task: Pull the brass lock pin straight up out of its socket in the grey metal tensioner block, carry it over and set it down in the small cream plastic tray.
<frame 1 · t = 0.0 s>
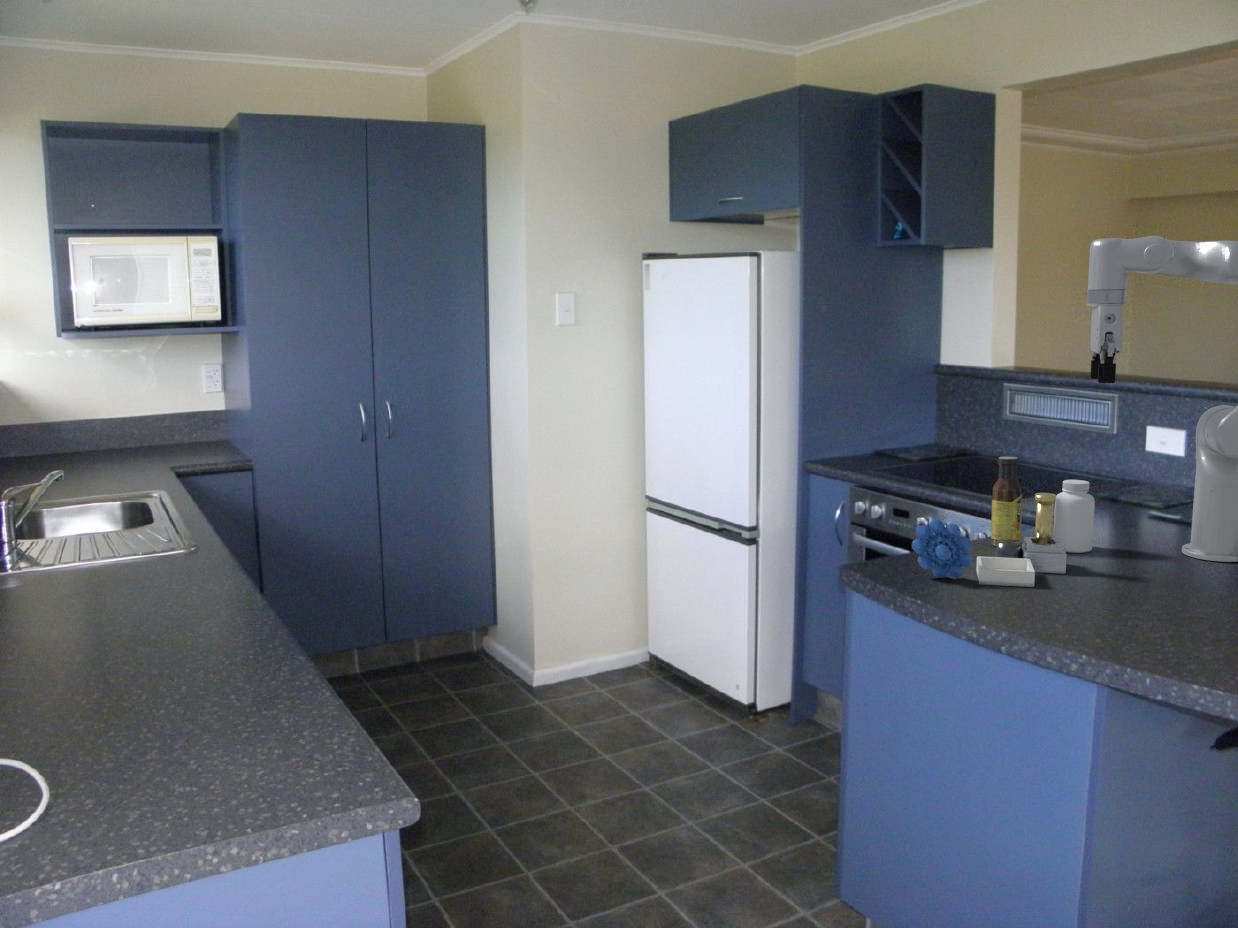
hand: (1102, 380, 222), 37 cm above the worktop, tool pointing down, fingers open, 9 cm apart
pill bottle: (1072, 549, 230), on the worktop
tensioner block: (1041, 567, 216), on the worktop
sauce bottle: (1005, 547, 233), on the worktop
blue flower: (941, 580, 209), on the worktop
pin: (1042, 548, 215), point 4 cm above the worktop, touching tensioner block
tray: (1004, 578, 208), on the worktop
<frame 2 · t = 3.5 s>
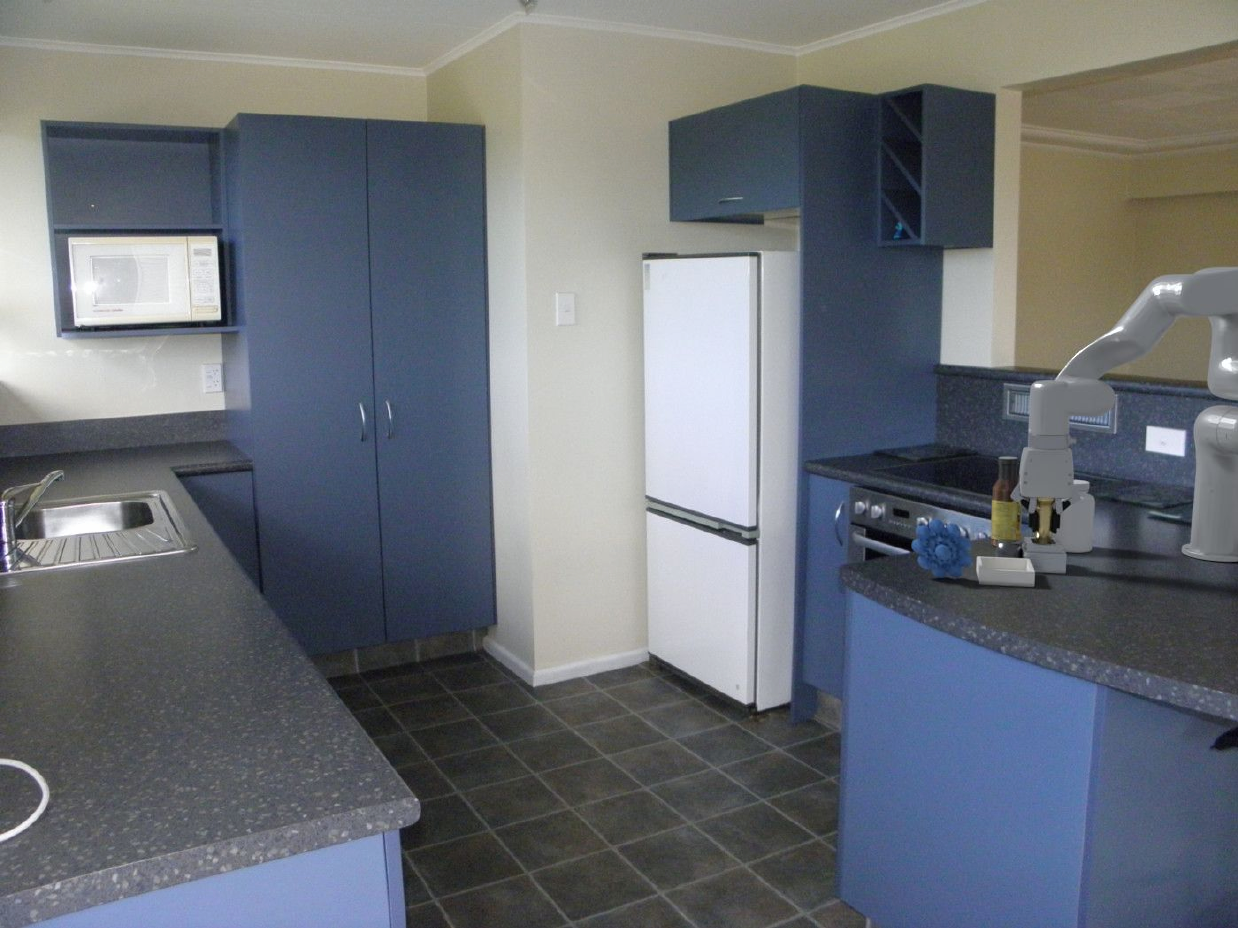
hand: (1043, 530, 214), 8 cm above the worktop, tool pointing down, fingers closed on pin, 3 cm apart
pin: (1042, 548, 215), point 4 cm above the worktop, touching gripper, tensioner block
everything else where it was.
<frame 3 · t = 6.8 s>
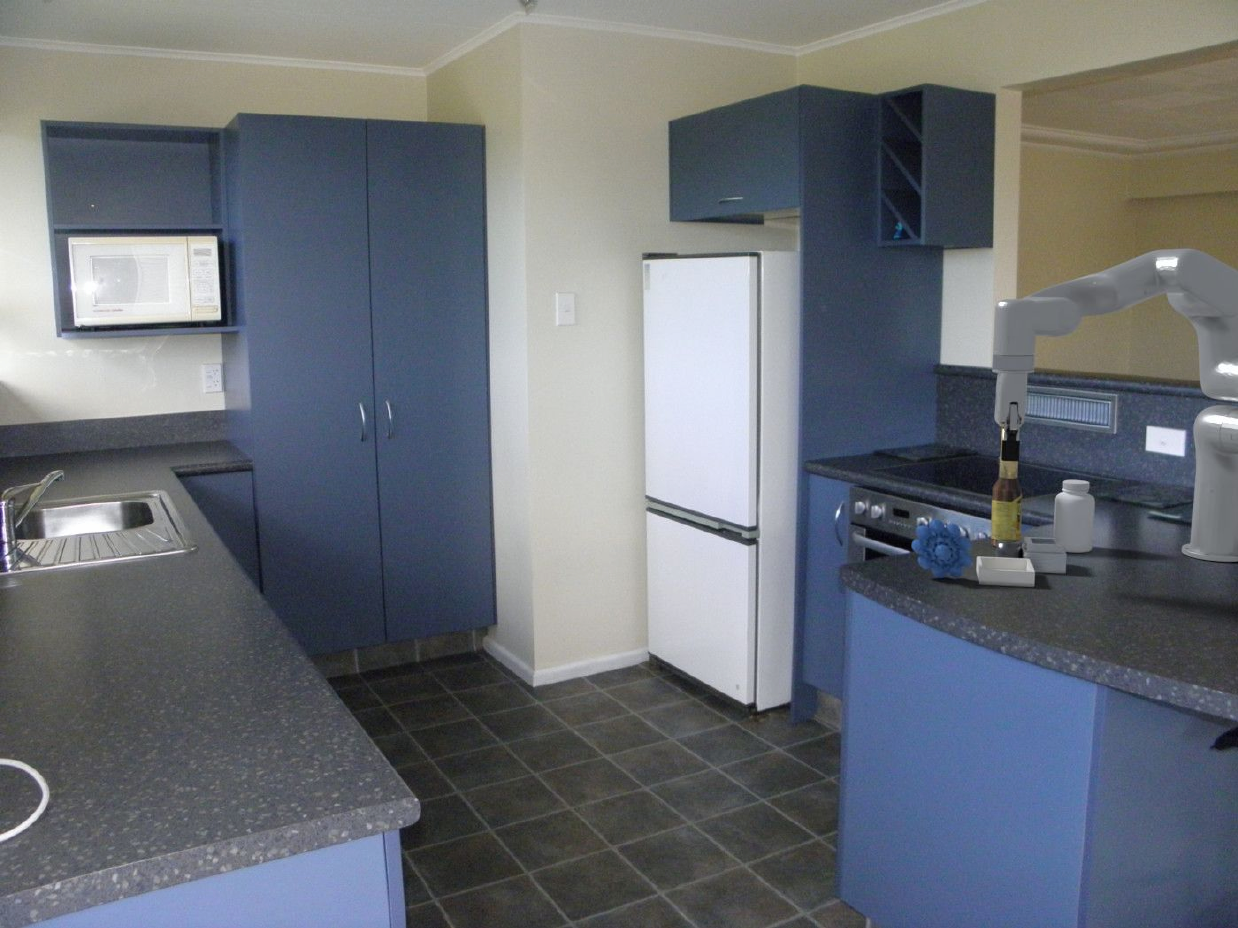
hand: (1009, 458, 204), 24 cm above the worktop, tool pointing down, fingers closed on pin, 3 cm apart
pin: (1008, 477, 205), point 20 cm above the worktop, touching gripper
everything else where it was.
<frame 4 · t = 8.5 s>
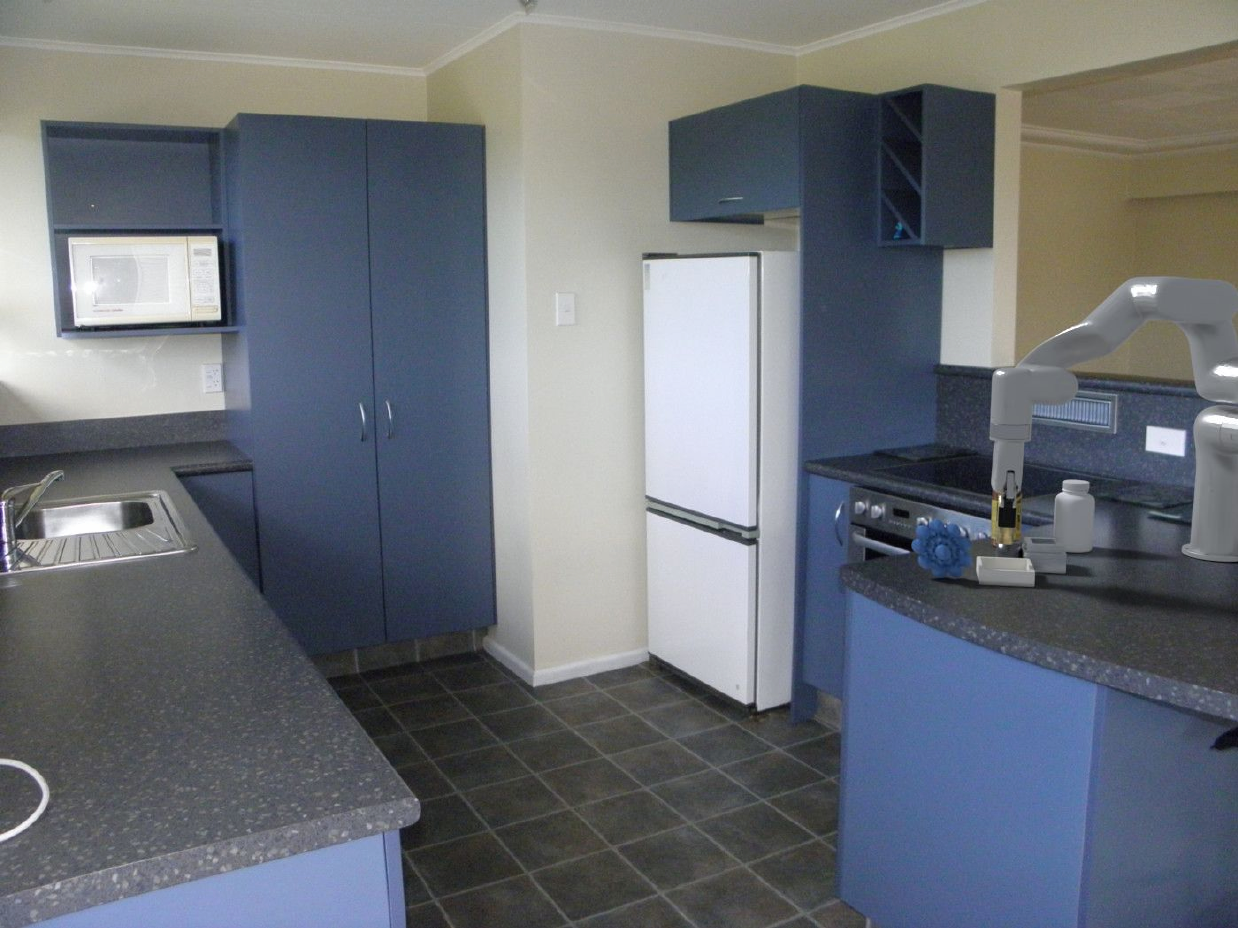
hand: (1005, 524, 207), 11 cm above the worktop, tool pointing down, fingers closed on pin, 3 cm apart
pin: (1004, 542, 207), point 7 cm above the worktop, touching gripper
everything else where it was.
when the fingers open (5 cm above the worktop, at t = 9.8 s): pin stays where it is, resting on tray.
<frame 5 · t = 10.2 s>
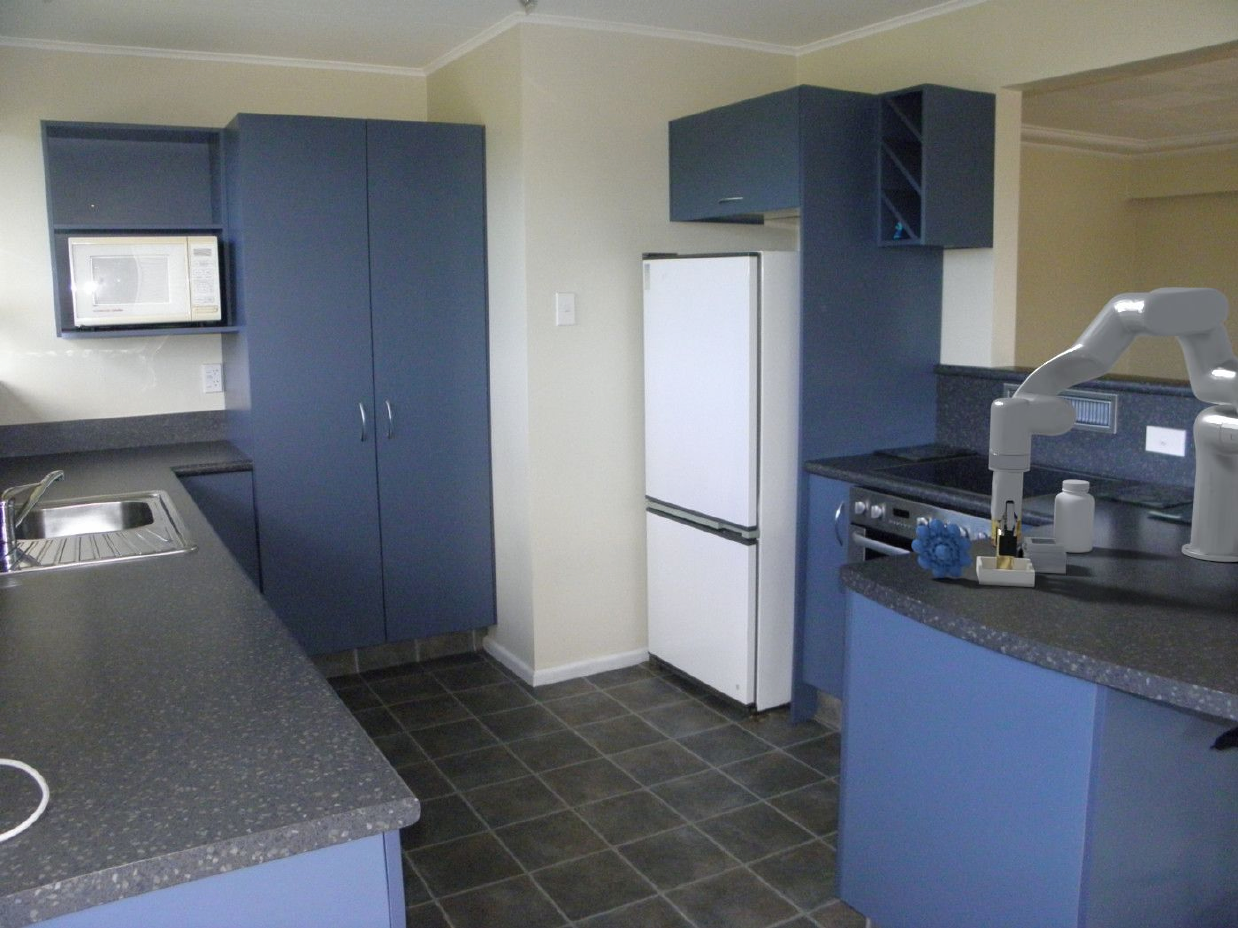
hand: (1005, 549, 207), 6 cm above the worktop, tool pointing down, fingers open, 7 cm apart
pin: (1004, 575, 208), point 1 cm above the worktop, touching tray
everything else where it was.
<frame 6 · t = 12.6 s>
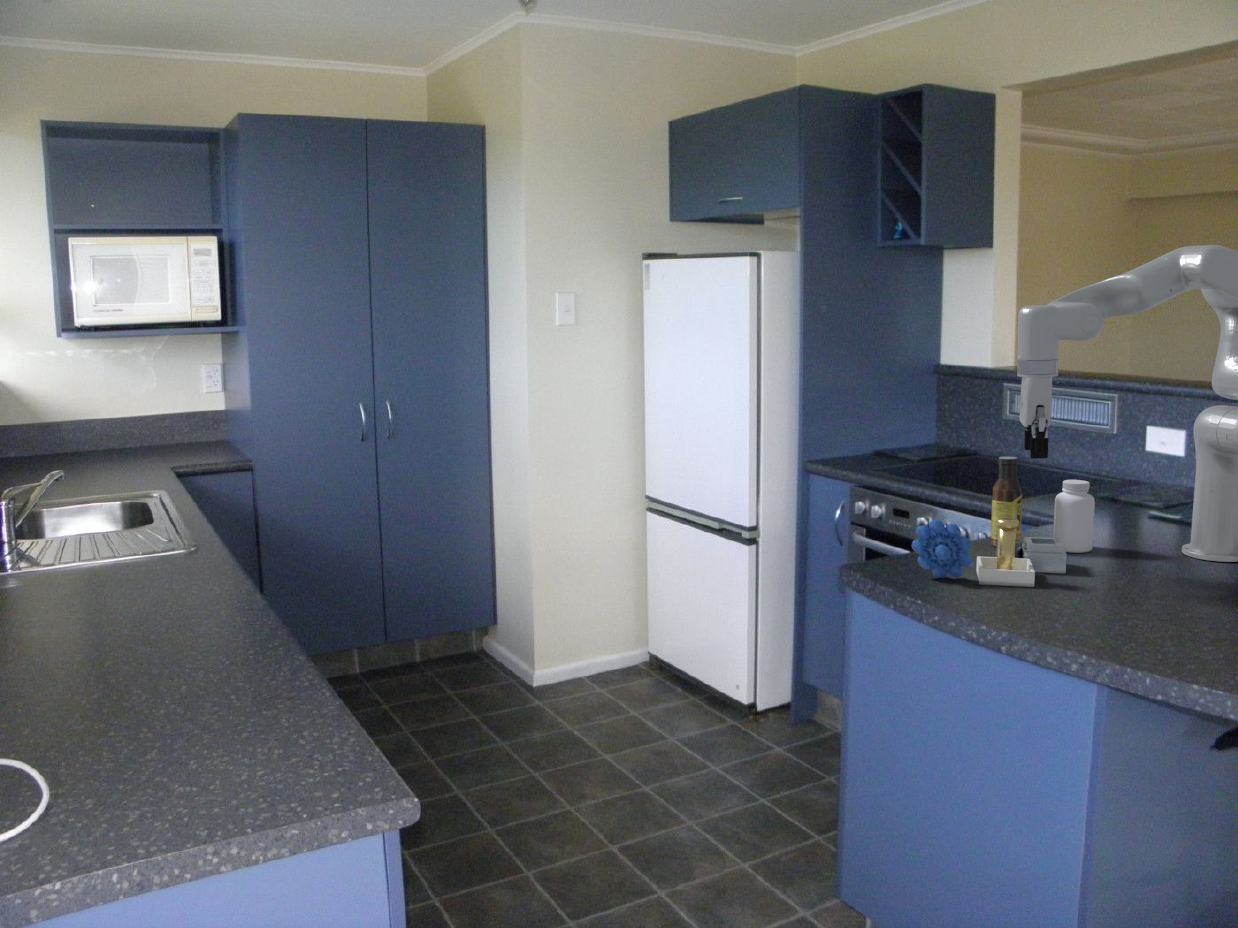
hand: (1035, 453, 211), 24 cm above the worktop, tool pointing down, fingers open, 9 cm apart
nothing on the worktop moved.
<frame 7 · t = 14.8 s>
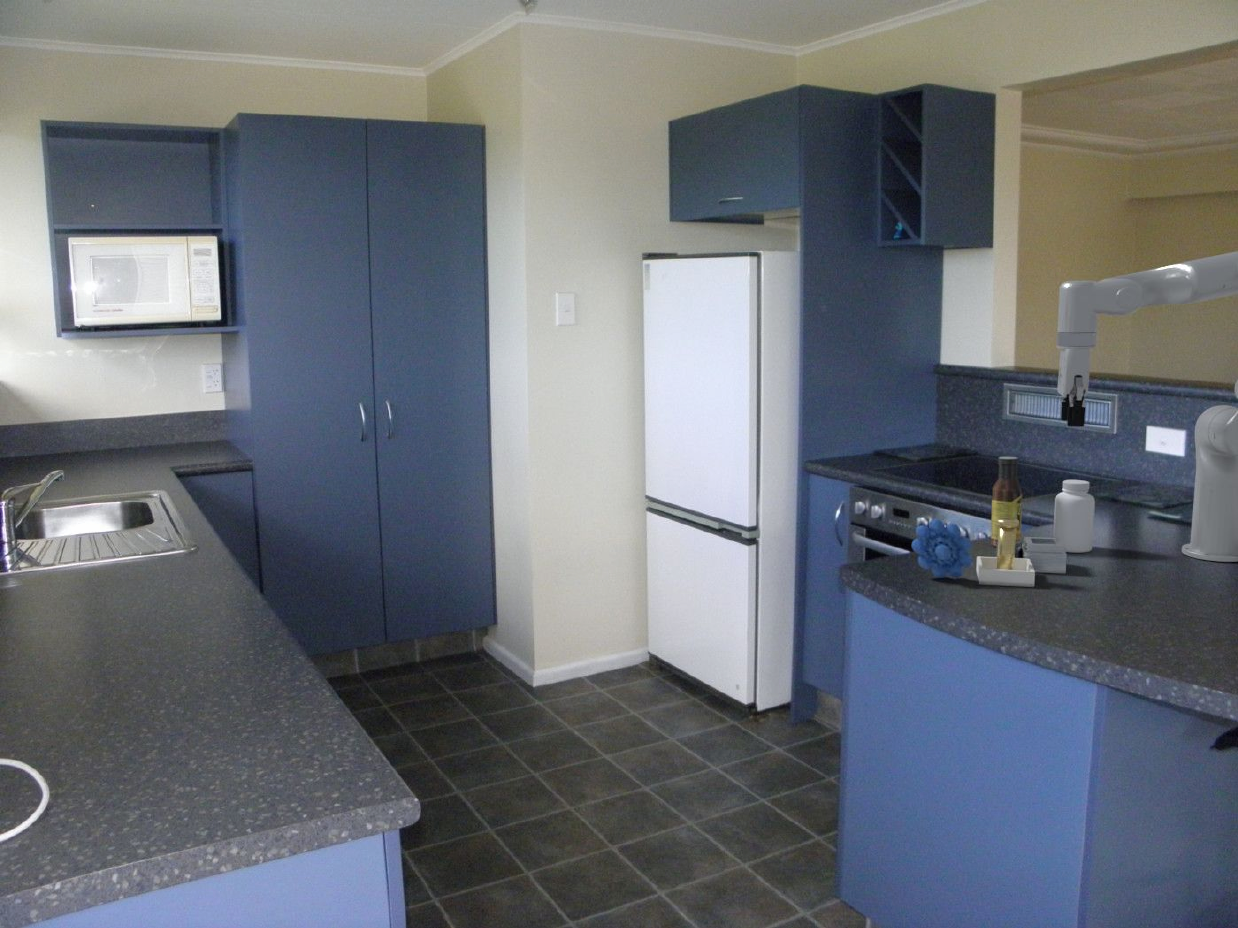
hand: (1072, 423, 221), 28 cm above the worktop, tool pointing down, fingers open, 9 cm apart
nothing on the worktop moved.
at the end: pin inside the target area on the tray (0.1 cm from its centre), point 0.6 cm above the tray's base; the gripper is holding nothing; pin moved 13.1 cm from its start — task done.
